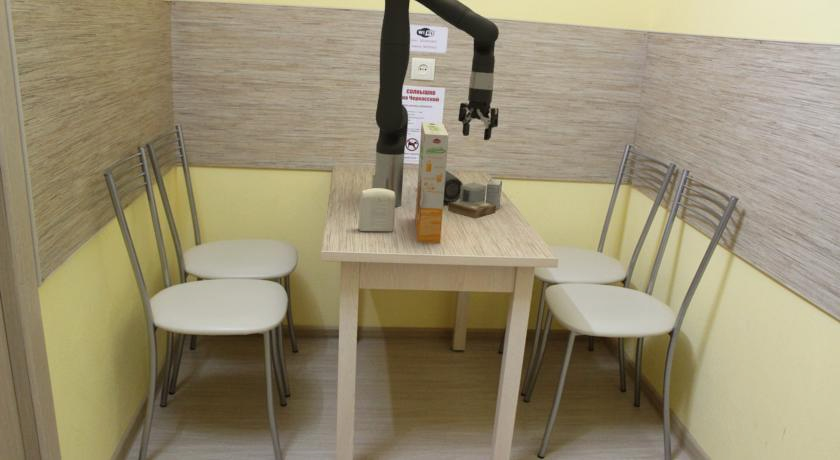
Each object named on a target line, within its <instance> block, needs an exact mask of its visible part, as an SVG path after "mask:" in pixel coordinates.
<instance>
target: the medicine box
mask: <svg viewBox="0 0 840 460" xmlns="http://www.w3.org/2000/svg"><path fill="white" fill-rule="evenodd" d="M502 187H503V180H502V179H496V178H495V179H492V178H491V179H489V180H488V183H486V192H485V203H489V204H492V205H496V209H495V211H498V210H499V208H500V204H501V197H502Z"/></svg>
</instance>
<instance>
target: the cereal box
mask: <svg viewBox="0 0 840 460" xmlns="http://www.w3.org/2000/svg"><path fill="white" fill-rule="evenodd" d="M420 127H421V129H420V139H419V140H420V143H419V154H418V155H419V156H418V157H419V158H418V173H417V174H418V175H417V184H416V185H417V186H416V187H417V188H416V202H415V215H414V216H415V218H414V220H415V229H416V239H417V243H430V242H432V243H433V242H434V244H441V237H442V225H443V224H442V223H443V211H444V201H443V200H444V188H445V175H446V171H447V159H448V148H449V147H448V146H449V138H450V137H449V134H448V131H447V129H446V127H445V126H444V124H443V123H442V122H428V121H426V122H425V121H422V122H421V126H420Z"/></svg>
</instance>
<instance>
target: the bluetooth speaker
mask: <svg viewBox="0 0 840 460" xmlns="http://www.w3.org/2000/svg"><path fill="white" fill-rule="evenodd" d="M461 185H464V184H463V182H462V181H461V180H460V179H459V178H458V177H457V176H455V175H454V174H452V173H451V172H449V171H448V170H446V175H445V188H444V200H443V202H445V201H446V202H448V203H451V202H456V201H460V189H461Z"/></svg>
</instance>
